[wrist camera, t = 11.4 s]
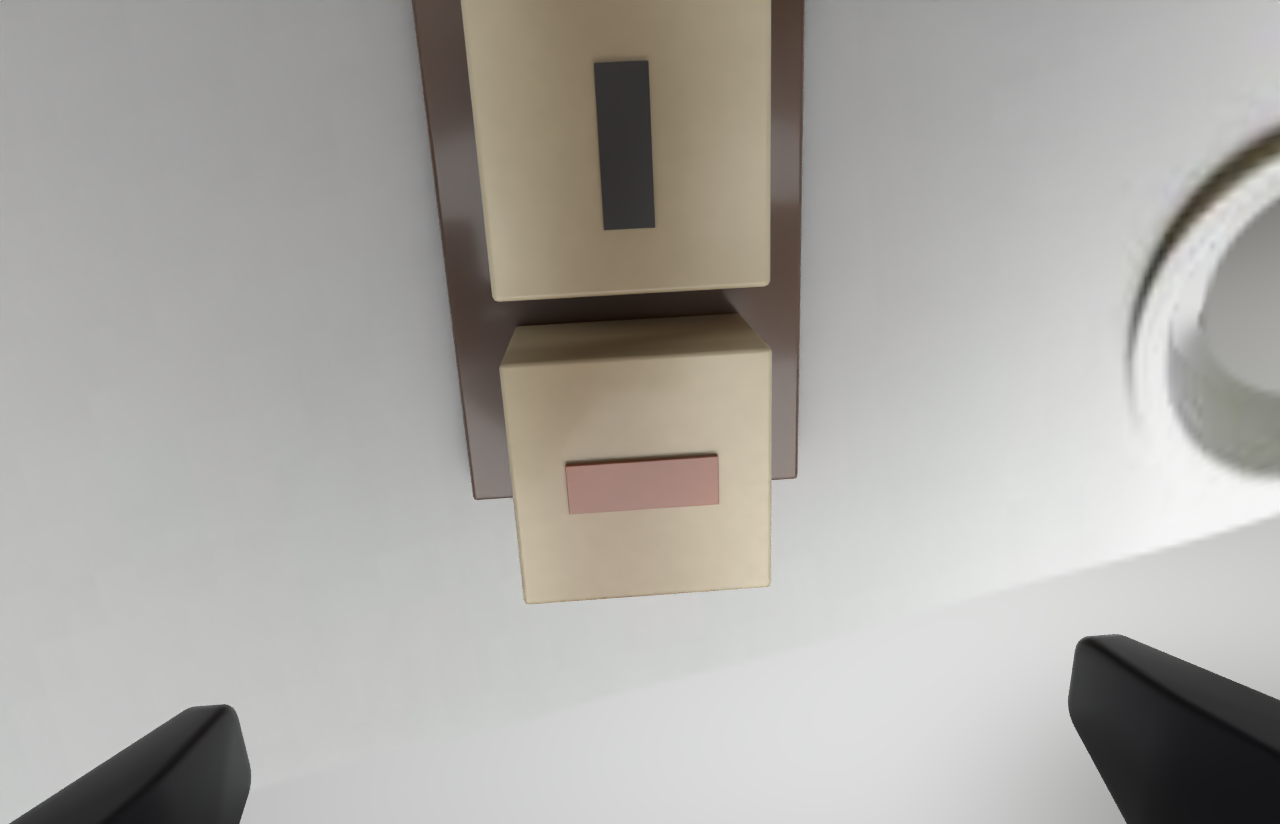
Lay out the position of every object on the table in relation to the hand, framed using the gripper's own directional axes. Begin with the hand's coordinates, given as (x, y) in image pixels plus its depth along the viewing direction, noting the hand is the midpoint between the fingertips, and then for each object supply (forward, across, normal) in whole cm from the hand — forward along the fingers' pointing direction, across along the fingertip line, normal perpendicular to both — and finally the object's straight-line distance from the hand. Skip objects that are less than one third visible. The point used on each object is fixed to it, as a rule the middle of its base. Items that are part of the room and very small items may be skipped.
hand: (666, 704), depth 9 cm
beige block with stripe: (+9, 0, 0) cm, 9 cm away
